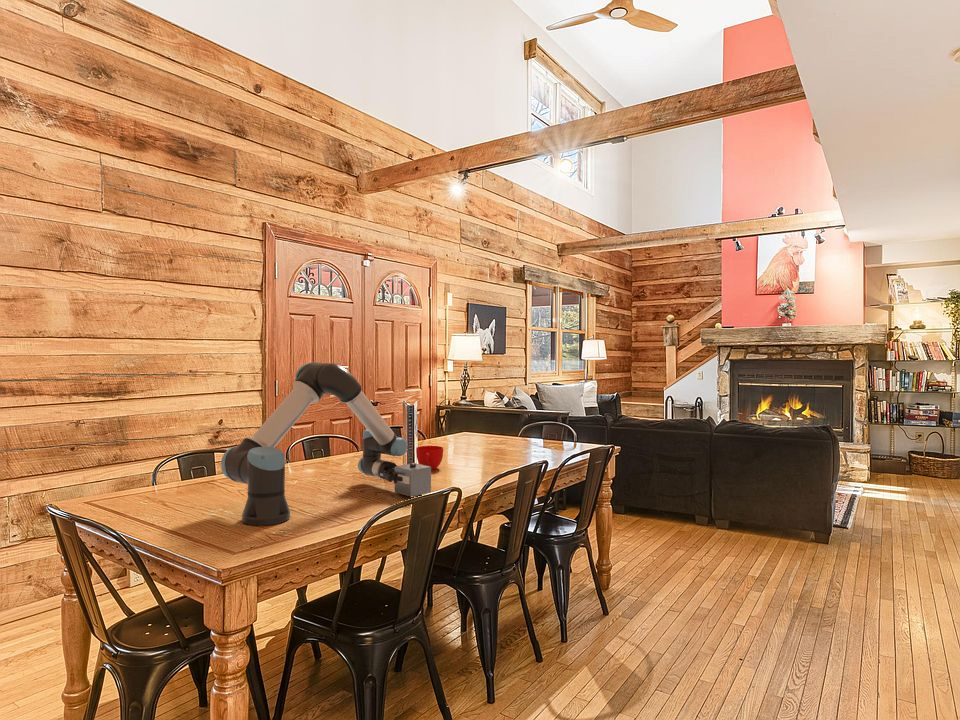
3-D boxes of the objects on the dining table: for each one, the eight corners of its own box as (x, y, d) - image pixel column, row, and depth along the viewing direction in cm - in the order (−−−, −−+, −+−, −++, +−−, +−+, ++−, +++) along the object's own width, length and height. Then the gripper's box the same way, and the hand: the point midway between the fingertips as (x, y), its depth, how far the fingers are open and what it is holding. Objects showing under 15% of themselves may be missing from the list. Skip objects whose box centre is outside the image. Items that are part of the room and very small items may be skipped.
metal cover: (430, 492, 236) (431, 463, 236) (410, 496, 229) (410, 467, 229) (414, 488, 243) (414, 460, 243) (394, 492, 236) (394, 463, 236)
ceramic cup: (413, 472, 280) (413, 451, 280) (418, 465, 297) (418, 445, 297) (440, 473, 280) (441, 451, 279) (444, 466, 296) (444, 445, 296)
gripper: (407, 475, 257) (441, 483, 241) (362, 483, 241) (396, 493, 225) (407, 457, 256) (442, 465, 241) (362, 464, 241) (396, 472, 225)
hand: (419, 478), depth 233 cm, fingers closed on metal cover, 10 cm apart
